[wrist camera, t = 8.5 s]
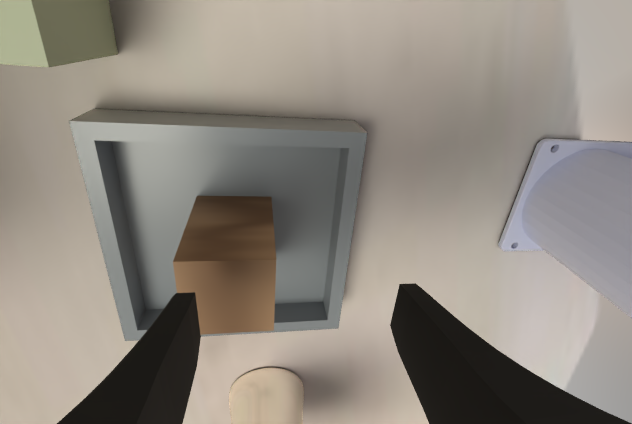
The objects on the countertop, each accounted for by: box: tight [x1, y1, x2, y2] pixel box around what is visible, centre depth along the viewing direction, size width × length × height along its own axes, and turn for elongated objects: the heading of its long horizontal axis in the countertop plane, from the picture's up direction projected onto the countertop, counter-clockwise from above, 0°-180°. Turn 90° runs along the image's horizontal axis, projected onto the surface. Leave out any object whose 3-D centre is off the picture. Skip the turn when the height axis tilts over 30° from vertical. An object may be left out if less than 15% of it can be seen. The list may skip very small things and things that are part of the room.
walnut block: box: [173, 196, 276, 335], centre depth 17 cm, size 4×4×6 cm
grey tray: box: [69, 109, 367, 341], centre depth 19 cm, size 13×13×2 cm
